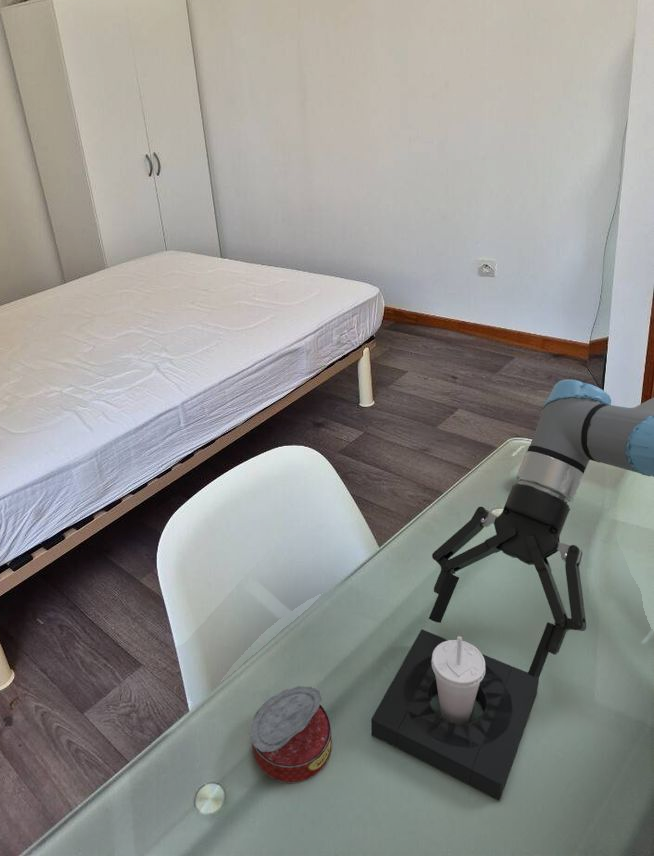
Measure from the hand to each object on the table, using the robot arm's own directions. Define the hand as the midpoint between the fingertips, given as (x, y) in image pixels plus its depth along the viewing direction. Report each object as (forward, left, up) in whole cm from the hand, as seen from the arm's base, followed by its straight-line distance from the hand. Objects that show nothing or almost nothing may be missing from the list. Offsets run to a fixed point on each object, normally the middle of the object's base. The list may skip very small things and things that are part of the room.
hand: (481, 647), depth 87 cm
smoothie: (+1, +5, -8) cm, 9 cm away
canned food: (+17, +19, -8) cm, 27 cm away
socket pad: (+1, +5, -7) cm, 9 cm away
